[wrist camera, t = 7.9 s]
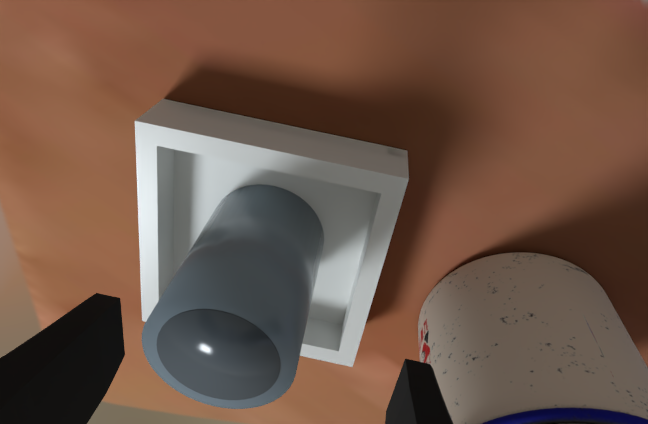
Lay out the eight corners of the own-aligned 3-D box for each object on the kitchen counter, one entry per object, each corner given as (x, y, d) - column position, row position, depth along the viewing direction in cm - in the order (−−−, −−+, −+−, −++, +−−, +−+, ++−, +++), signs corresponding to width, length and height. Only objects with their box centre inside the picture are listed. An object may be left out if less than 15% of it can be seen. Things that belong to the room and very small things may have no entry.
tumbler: (333, 198, 20) (307, 318, 14) (314, 289, 23) (285, 423, 17) (215, 173, 20) (138, 281, 14) (209, 266, 23) (143, 391, 17)
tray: (407, 150, 19) (408, 178, 17) (356, 328, 25) (352, 366, 23) (163, 98, 20) (135, 120, 17) (163, 286, 25) (142, 320, 23)
